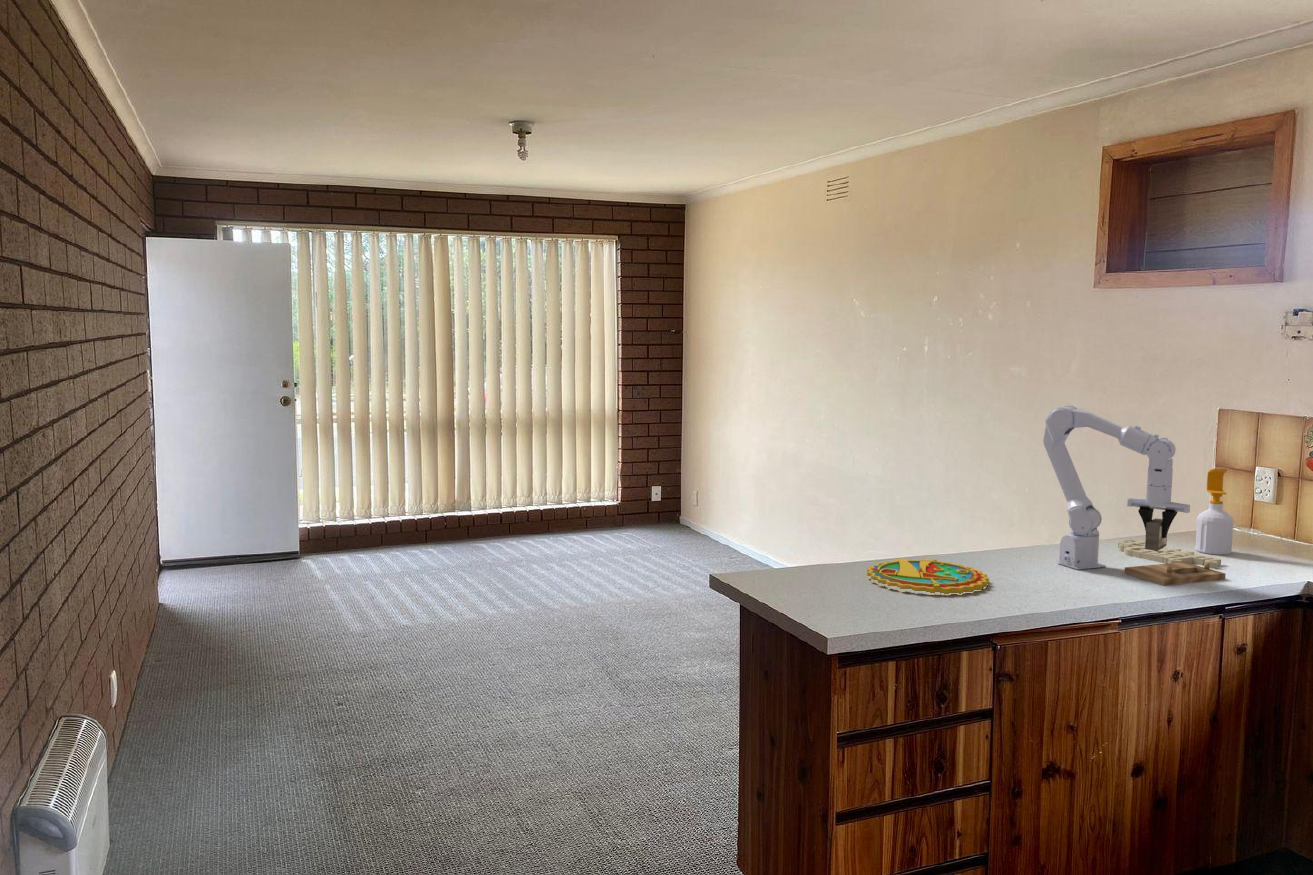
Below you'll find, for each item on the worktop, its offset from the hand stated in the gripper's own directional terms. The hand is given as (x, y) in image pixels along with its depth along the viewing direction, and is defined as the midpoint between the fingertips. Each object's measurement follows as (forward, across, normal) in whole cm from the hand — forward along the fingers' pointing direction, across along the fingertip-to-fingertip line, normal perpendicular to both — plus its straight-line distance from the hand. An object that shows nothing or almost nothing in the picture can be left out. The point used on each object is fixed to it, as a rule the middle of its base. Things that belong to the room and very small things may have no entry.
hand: (1156, 536), depth 249 cm
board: (+10, -4, -2) cm, 11 cm away
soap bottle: (+11, -5, -41) cm, 43 cm away
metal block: (+3, 0, 0) cm, 3 cm away
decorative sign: (+11, +4, -24) cm, 26 cm away
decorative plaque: (+11, +42, +45) cm, 63 cm away
